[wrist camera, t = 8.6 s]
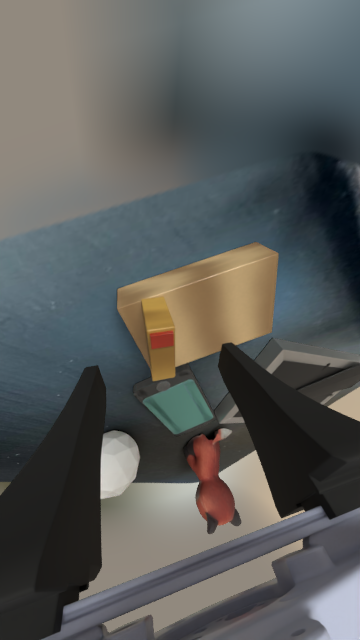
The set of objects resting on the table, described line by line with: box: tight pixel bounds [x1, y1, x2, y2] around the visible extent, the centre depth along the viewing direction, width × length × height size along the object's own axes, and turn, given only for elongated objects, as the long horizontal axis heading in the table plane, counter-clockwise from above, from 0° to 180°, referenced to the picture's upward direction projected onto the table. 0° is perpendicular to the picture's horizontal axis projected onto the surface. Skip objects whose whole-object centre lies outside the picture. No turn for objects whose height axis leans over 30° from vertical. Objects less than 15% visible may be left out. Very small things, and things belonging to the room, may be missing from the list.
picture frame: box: [214, 338, 360, 424], centre depth 31 cm, size 16×3×21 cm
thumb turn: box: [141, 297, 175, 381], centre depth 13 cm, size 4×2×4 cm, turn 179°
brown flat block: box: [117, 242, 278, 367], centre depth 17 cm, size 12×8×3 cm, turn 104°
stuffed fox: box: [184, 428, 241, 534], centre depth 33 cm, size 8×11×12 cm
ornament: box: [101, 430, 140, 499], centre depth 26 cm, size 7×7×8 cm
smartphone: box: [133, 363, 216, 436], centre depth 27 cm, size 7×1×15 cm
